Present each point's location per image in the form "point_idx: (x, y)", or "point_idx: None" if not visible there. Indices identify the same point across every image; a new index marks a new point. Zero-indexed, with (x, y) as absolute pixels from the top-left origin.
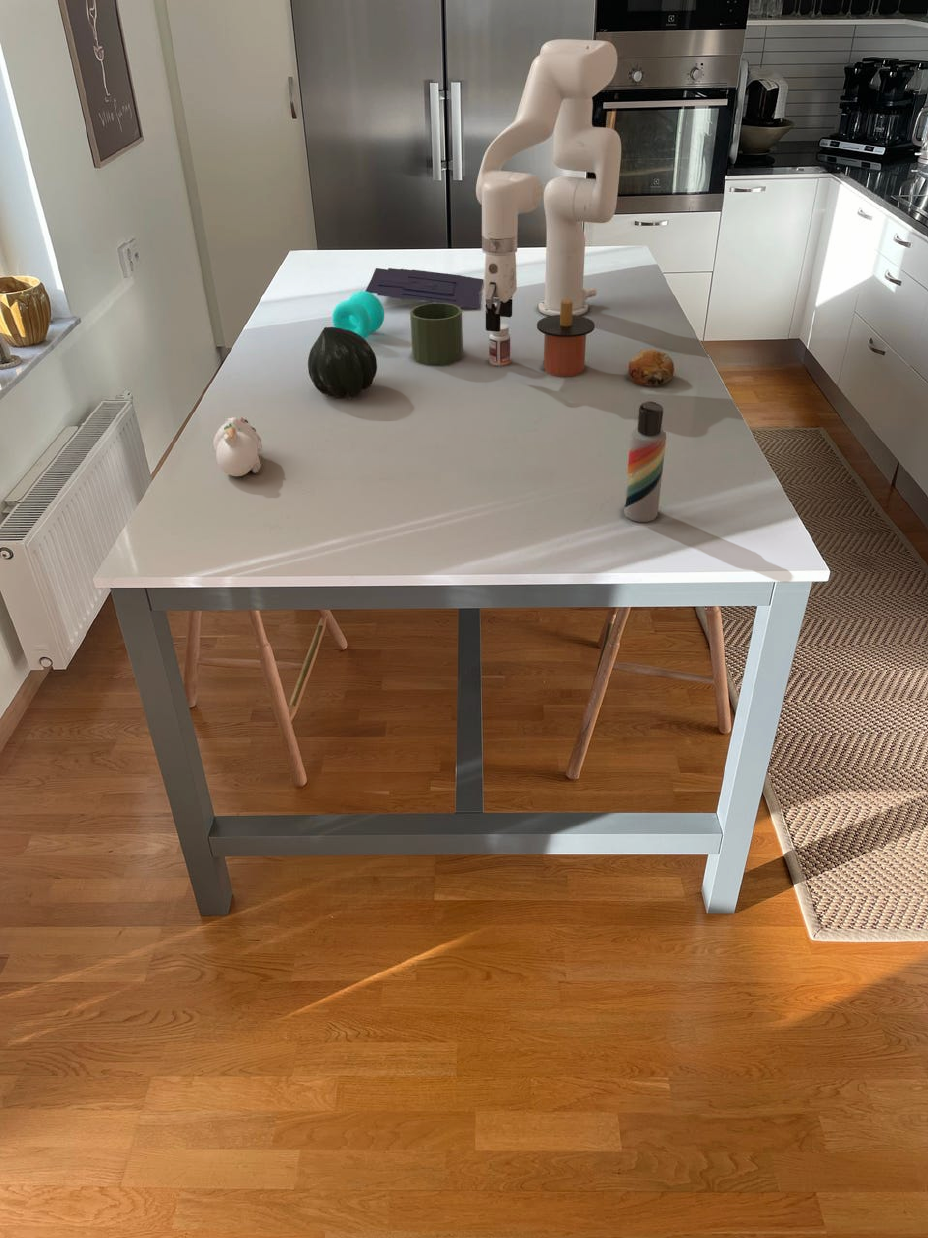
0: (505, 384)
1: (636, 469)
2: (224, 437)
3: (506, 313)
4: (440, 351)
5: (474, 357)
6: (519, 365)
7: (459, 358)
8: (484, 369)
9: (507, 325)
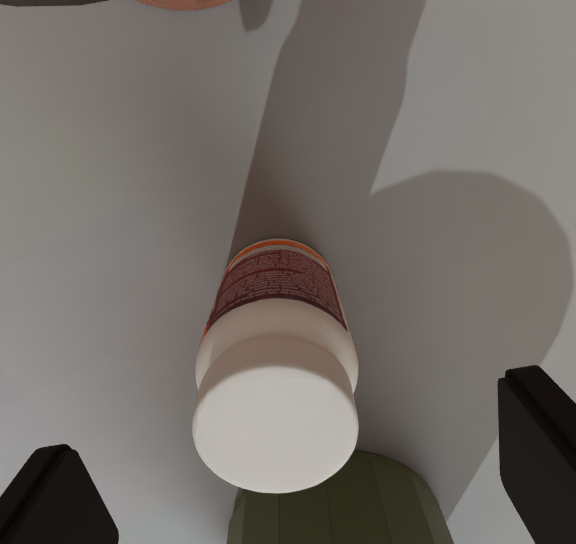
0: (566, 113)
1: None
2: None
3: (77, 506)
4: (448, 541)
5: None
6: (269, 172)
7: None
8: (398, 312)
9: (223, 387)
